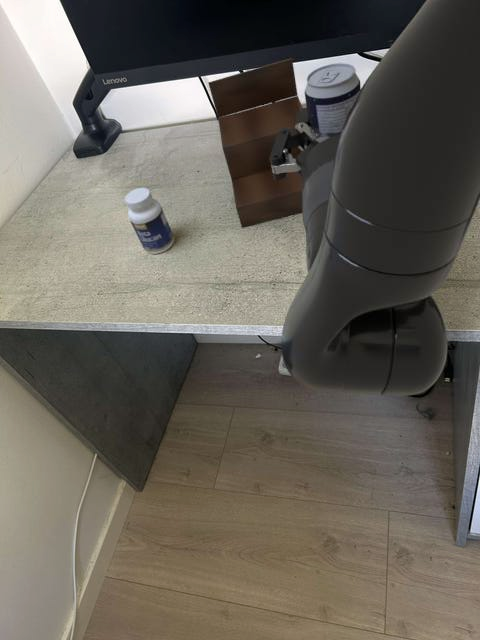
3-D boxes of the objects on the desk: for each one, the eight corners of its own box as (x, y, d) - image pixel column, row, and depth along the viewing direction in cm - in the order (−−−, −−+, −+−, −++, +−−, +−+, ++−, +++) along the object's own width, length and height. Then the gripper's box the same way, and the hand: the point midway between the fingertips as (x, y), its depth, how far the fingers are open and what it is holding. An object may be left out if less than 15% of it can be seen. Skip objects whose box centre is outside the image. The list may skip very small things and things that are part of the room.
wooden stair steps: (305, 147, 90) (291, 57, 78) (327, 205, 77) (315, 108, 66) (232, 167, 92) (208, 82, 80) (241, 227, 79) (215, 136, 67)
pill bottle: (144, 258, 79) (119, 210, 72) (144, 238, 83) (120, 190, 76) (175, 249, 79) (154, 199, 72) (174, 230, 83) (153, 180, 76)
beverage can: (373, 165, 58) (368, 61, 49) (353, 193, 55) (344, 88, 47) (329, 161, 61) (318, 61, 52) (308, 187, 58) (293, 86, 50)
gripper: (431, 144, 39) (400, 61, 50) (256, 175, 43) (264, 90, 54) (427, 219, 45) (400, 129, 56) (273, 241, 48) (276, 151, 59)
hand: (333, 110), depth 55 cm, fingers closed on beverage can, 5 cm apart
